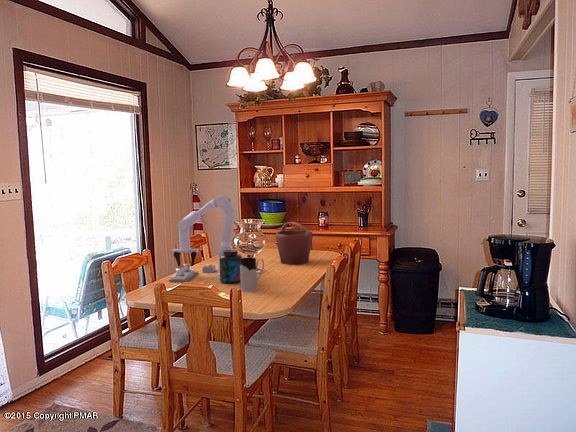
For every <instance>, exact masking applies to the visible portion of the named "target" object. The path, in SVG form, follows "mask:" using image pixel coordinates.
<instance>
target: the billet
mask: <svg viewBox="0 0 576 432" xmlns="http://www.w3.org/2000/svg"><path fill="white" fill-rule="evenodd" d="M181 266H182V268H184V272H190V270H191V264H190V263H183V264H182V265H181Z"/></svg>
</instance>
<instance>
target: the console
mask: <svg viewBox="0 0 576 432" xmlns="http://www.w3.org/2000/svg"><path fill="white" fill-rule="evenodd" d="M206 265H207V264H205V265H204V266H202V273H214V272H215V271H216V264H211V266H212V267H206Z"/></svg>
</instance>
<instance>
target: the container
mask: <svg viewBox="0 0 576 432" xmlns="http://www.w3.org/2000/svg"><path fill="white" fill-rule="evenodd" d="M238 251H239V250H238V249H231V250H224V251H223V255H221V256H220V257H218V258H219V264H218V267H219V266H220V276H219V281H220V282H221V283H222V284H228V285H229V284H237V283H241V277H240V259H242V258H243V256H242V255H241V254H239V252H238Z"/></svg>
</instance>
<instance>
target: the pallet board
mask: <svg viewBox="0 0 576 432" xmlns="http://www.w3.org/2000/svg"><path fill="white" fill-rule="evenodd" d="M198 274H199V271H198V270H195V269H190V272H184V276H176V273H175V274H174V275H172V276H171V278H169V279H168V283H188V282H189V281H190V280H192V279H193V278H194V277H195V276H196V275H198Z"/></svg>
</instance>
